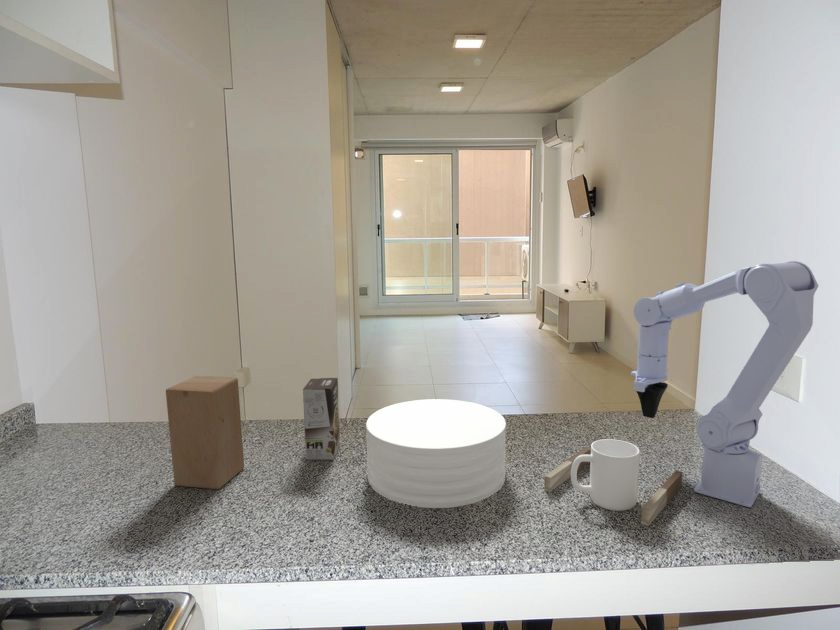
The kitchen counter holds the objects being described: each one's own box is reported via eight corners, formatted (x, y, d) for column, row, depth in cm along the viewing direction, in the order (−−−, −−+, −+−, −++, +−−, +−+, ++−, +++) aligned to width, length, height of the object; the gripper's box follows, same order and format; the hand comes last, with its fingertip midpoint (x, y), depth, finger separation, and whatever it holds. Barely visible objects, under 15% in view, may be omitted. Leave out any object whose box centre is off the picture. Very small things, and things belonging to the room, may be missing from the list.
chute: (681, 486, 106) (682, 472, 105) (648, 526, 93) (649, 509, 92) (585, 459, 119) (586, 446, 118) (544, 490, 105) (544, 475, 105)
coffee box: (334, 460, 121) (331, 388, 118) (305, 460, 121) (301, 389, 118) (341, 443, 130) (338, 377, 127) (314, 443, 130) (310, 377, 127)
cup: (644, 511, 97) (647, 456, 96) (576, 512, 97) (578, 458, 96) (626, 489, 106) (629, 438, 104) (563, 490, 106) (565, 439, 104)
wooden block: (219, 490, 108) (211, 391, 104) (173, 486, 110) (164, 389, 106) (245, 468, 117) (238, 377, 114) (202, 464, 119) (195, 375, 116)
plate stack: (465, 439, 132) (465, 392, 130) (532, 490, 106) (534, 433, 104) (351, 459, 121) (349, 409, 119) (395, 522, 95) (394, 459, 94)
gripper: (645, 345, 123) (642, 403, 125) (619, 357, 112) (617, 421, 115) (678, 349, 119) (675, 410, 121) (655, 363, 108) (651, 429, 110)
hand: (649, 416), depth 117 cm, fingers closed
